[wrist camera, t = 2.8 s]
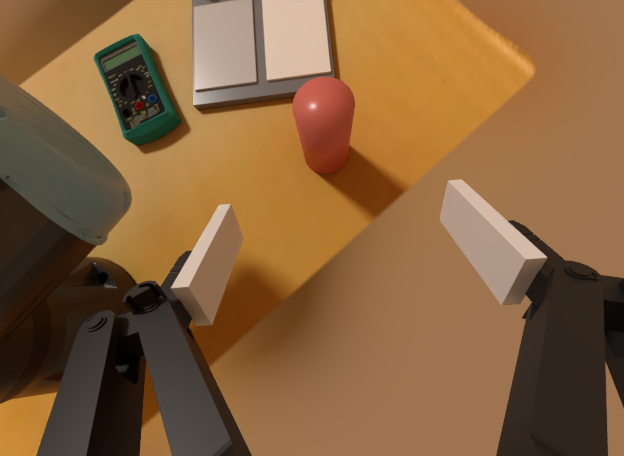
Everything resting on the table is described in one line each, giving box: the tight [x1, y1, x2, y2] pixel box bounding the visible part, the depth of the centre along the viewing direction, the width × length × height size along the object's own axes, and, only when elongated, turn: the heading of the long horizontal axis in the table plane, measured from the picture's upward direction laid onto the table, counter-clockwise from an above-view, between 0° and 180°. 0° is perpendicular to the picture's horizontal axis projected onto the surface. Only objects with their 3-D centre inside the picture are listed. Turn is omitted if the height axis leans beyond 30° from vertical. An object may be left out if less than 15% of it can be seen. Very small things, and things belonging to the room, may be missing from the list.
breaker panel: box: [192, 0, 334, 110], centre depth 34 cm, size 19×19×3 cm
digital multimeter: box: [94, 34, 181, 145], centre depth 35 cm, size 7×15×3 cm, turn 26°
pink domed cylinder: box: [293, 77, 355, 174], centre depth 27 cm, size 6×6×10 cm
